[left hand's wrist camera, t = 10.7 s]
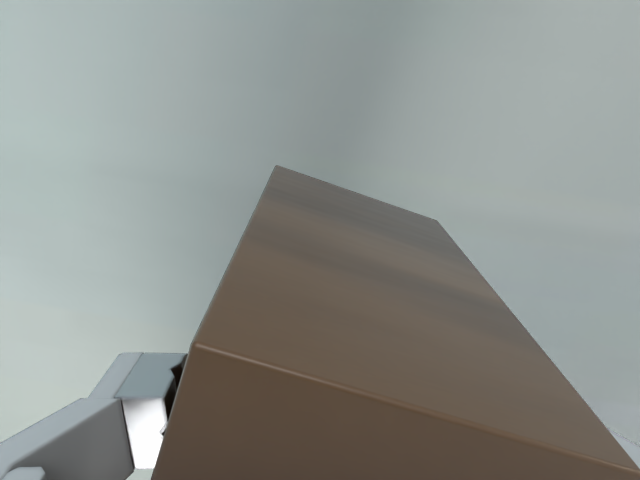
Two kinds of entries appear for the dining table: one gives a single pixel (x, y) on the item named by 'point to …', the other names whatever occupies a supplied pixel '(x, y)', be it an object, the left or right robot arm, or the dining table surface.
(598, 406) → the dining table surface
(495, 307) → the bar
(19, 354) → the dining table surface
